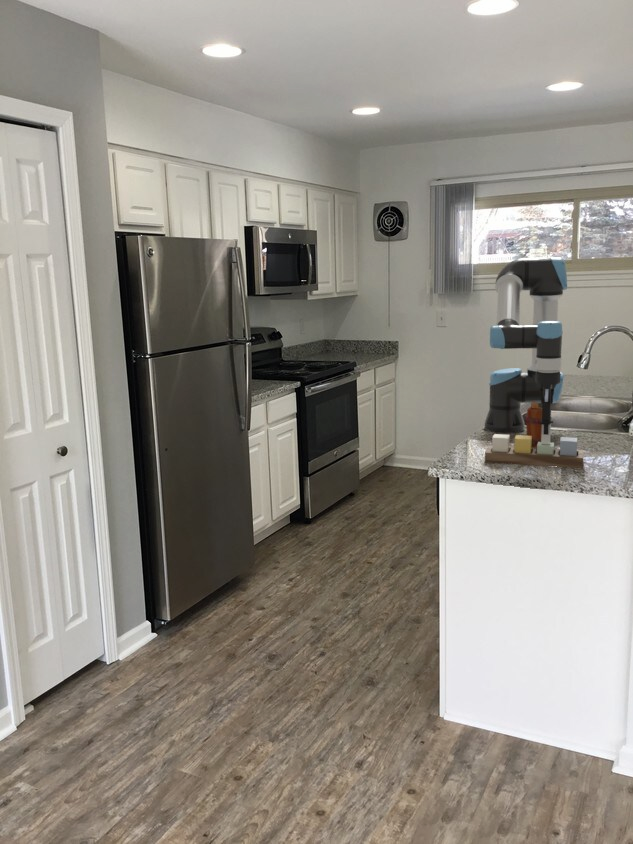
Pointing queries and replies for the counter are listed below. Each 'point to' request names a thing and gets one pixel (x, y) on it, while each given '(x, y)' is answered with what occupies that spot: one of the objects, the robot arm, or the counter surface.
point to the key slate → (568, 446)
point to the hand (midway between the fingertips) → (545, 443)
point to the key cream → (500, 443)
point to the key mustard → (523, 444)
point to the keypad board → (534, 458)
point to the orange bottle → (534, 423)
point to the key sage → (545, 448)
